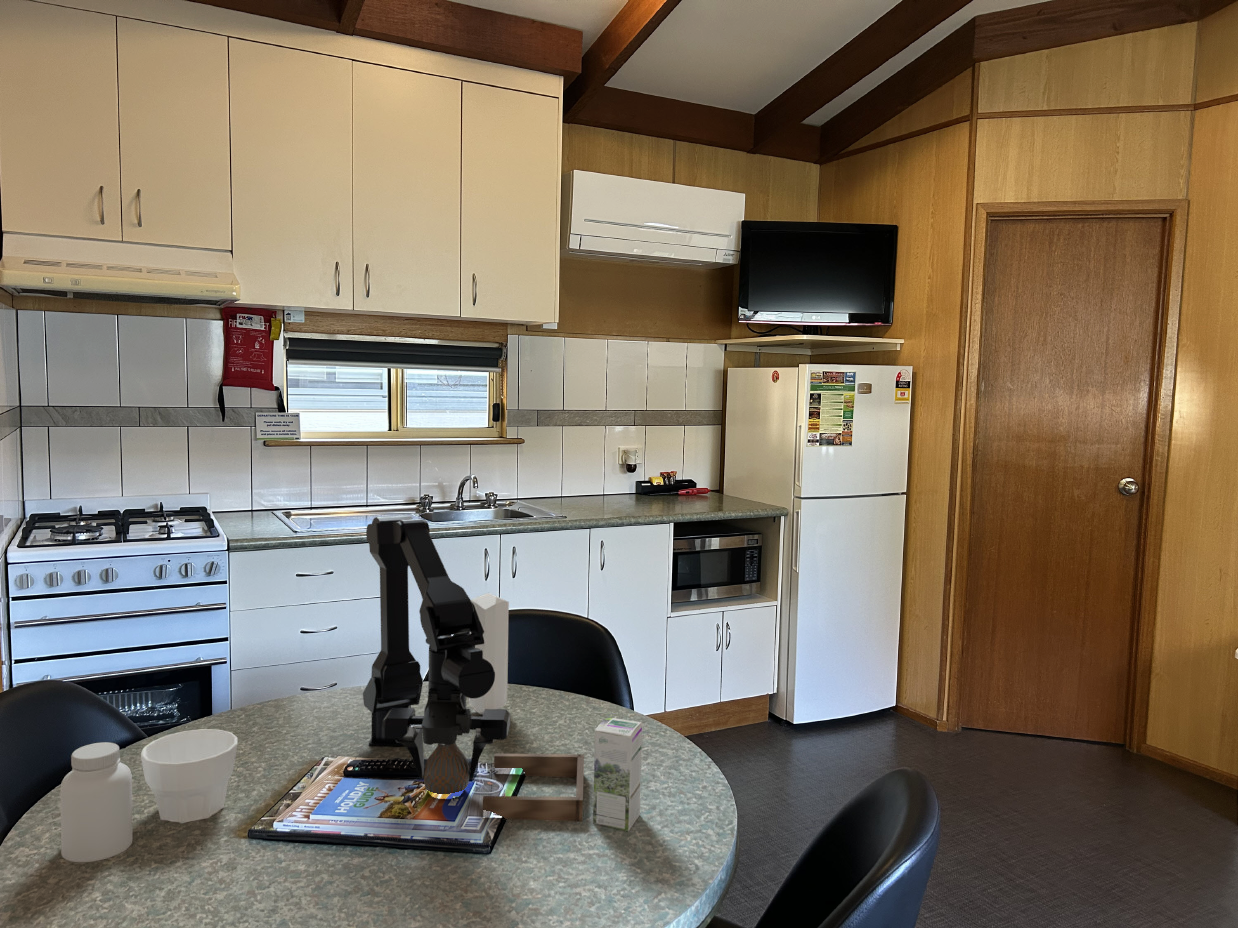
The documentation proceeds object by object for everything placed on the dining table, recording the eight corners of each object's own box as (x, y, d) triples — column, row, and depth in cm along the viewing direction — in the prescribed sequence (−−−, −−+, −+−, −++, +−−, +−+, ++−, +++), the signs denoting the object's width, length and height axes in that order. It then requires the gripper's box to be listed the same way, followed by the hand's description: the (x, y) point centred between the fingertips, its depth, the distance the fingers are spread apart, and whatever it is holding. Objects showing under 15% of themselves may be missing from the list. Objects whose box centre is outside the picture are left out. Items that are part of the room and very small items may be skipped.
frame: (482, 822, 125) (482, 798, 125) (494, 774, 141) (494, 753, 141) (582, 823, 126) (582, 800, 125) (583, 775, 142) (583, 754, 141)
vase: (464, 808, 130) (465, 751, 129) (418, 806, 130) (419, 749, 129) (473, 787, 136) (473, 733, 136) (429, 785, 137) (430, 731, 136)
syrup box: (641, 814, 129) (643, 720, 128) (628, 833, 123) (631, 734, 122) (605, 807, 131) (607, 714, 129) (591, 825, 125) (593, 728, 124)
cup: (183, 795, 131) (182, 724, 130) (256, 805, 129) (256, 733, 128) (120, 835, 119) (119, 758, 118) (200, 847, 116) (199, 768, 116)
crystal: (463, 722, 163) (465, 597, 161) (469, 709, 170) (470, 588, 168) (503, 723, 163) (505, 598, 161) (507, 709, 170) (509, 589, 168)
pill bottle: (82, 885, 107) (79, 768, 106) (49, 865, 111) (46, 752, 110) (145, 857, 114) (143, 746, 113) (112, 839, 118) (110, 732, 117)
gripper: (372, 695, 123) (372, 801, 124) (503, 697, 124) (502, 802, 125) (390, 670, 134) (390, 768, 136) (511, 672, 135) (509, 769, 136)
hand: (446, 777), depth 133 cm, fingers open, 7 cm apart
